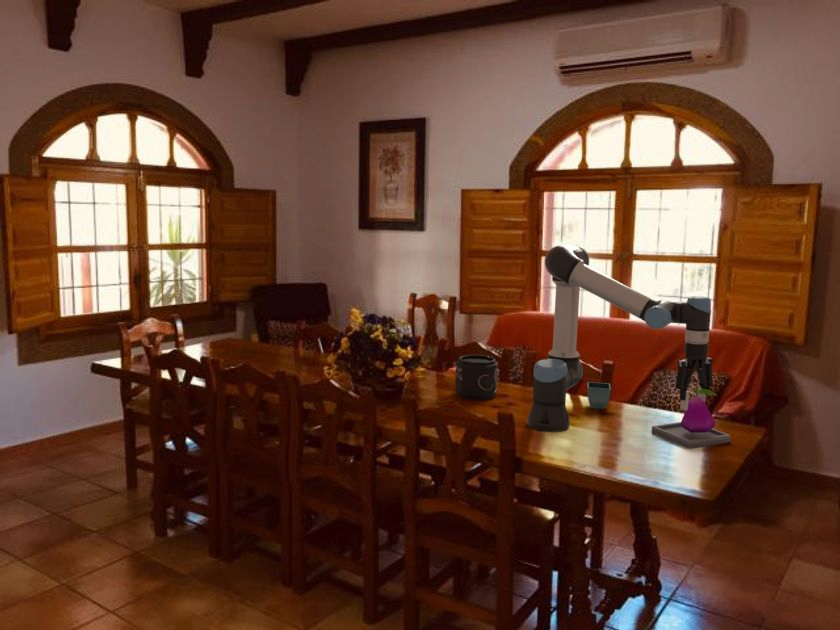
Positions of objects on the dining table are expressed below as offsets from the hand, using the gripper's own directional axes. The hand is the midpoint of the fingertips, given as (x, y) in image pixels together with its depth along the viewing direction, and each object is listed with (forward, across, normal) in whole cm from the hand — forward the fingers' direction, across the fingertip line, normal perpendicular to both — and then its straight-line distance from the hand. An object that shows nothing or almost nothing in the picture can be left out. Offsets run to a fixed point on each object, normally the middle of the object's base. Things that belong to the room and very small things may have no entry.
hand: (692, 408), depth 247 cm
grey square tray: (+11, 0, 0) cm, 11 cm away
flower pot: (+11, -6, +43) cm, 45 cm away
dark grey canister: (+10, -42, +77) cm, 88 cm away
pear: (+7, +2, -1) cm, 8 cm away
